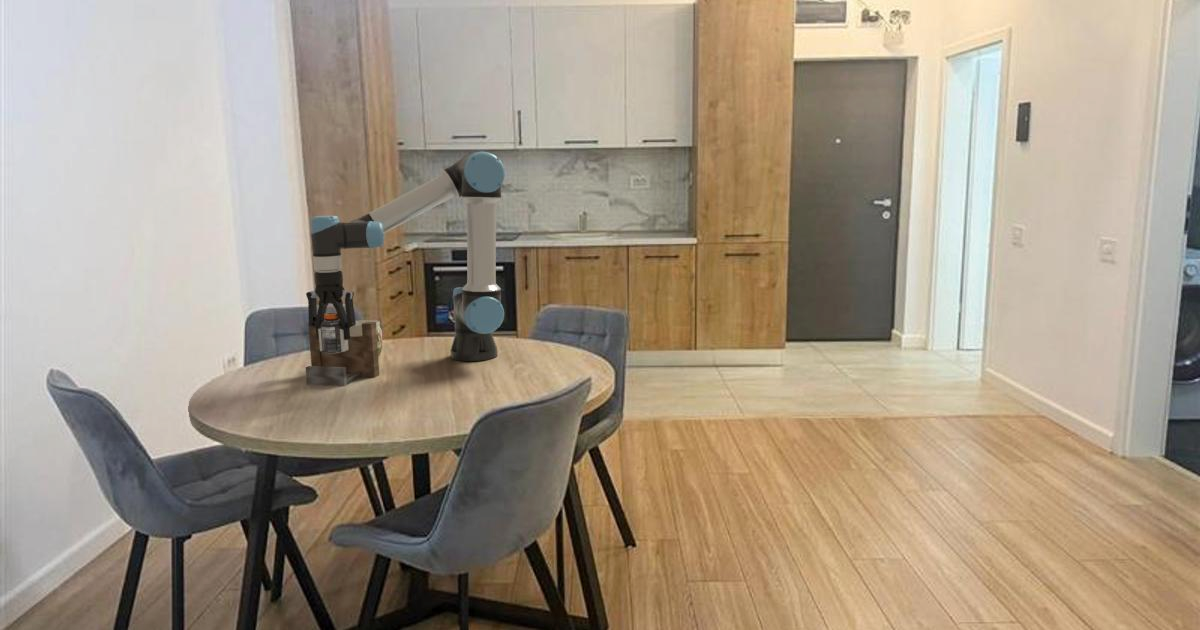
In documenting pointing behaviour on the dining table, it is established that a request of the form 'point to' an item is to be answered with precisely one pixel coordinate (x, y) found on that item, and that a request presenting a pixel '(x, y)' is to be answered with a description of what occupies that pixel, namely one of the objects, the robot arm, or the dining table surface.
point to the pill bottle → (331, 333)
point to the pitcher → (358, 331)
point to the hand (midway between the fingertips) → (334, 350)
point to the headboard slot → (344, 359)
